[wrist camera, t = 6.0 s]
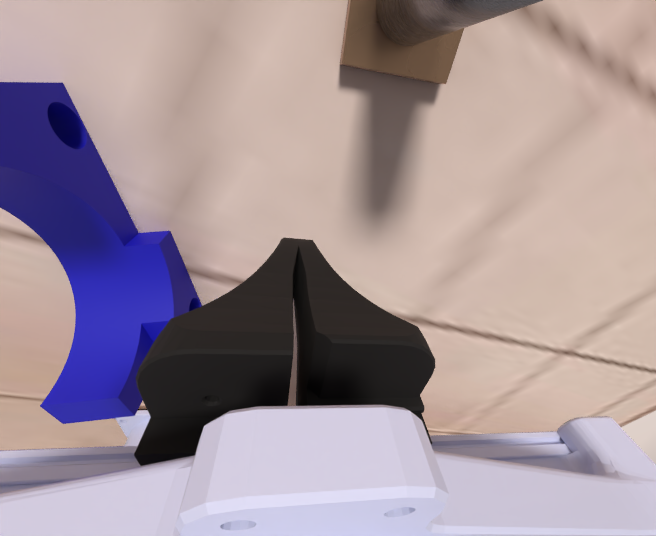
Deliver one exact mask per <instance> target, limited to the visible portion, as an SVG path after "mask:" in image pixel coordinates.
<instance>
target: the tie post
mask: <svg viewBox="0 0 656 536" xmlns="http://www.w3.org/2000/svg"><path fill="white" fill-rule="evenodd" d="M539 1H542V0H348V8H347V15H346V22H345V30H344V37H343V45H342V52H341V59H340V65H344V66H349V67H354V68H359V69H365V70H370V71H375V72H380V73H385V74H391V75H396V76H401V77H406V78H411V79H416V80H422V81H427V82H432V83H437V84H446V82H447V79H448V76H449V73H450V70H451V67H452V64H453V61H454V58H455V55H456V52H457V48H458V45H459V42H460V39H461V36H462V33H463V30H464V28H465V27H468V26H471V25H474V24H477V23H479V22H482V21H485V20H488V19H491V18H494V17H497V16H499V15H502V14H505V13H508V12H511V11H514V10H517V9H519V8H522V7H525V6H528V5H531V4H534V3H537V2H539Z"/></svg>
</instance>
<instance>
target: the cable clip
mask: <svg viewBox="0 0 656 536" xmlns="http://www.w3.org/2000/svg"><path fill="white" fill-rule="evenodd" d="M0 208H2V209H4V210H6V211H8V212H9V213H11V214H12V215H14V216H15V217H17V218H18V219H20V220H21V221H23V222H24V223H25V224H26V225H28V226H29V227H30V228H32V229H33V230H34V231H35V232H36V233H37V234H38V235H39V236H40V237H41V238H42V239H43V240H44V241H45V242H46V243H47V244H48V245H49V246H50V248H51V249H52V250H53V252H54V253H55V254H56V256H57V257H58V259H59V260H60V262H61V264H62V265H63V267H64V269H65V271H66V273H67V275H68V278H69V281H70V284H71V287H72V291H73V294H74V300H75V309H76V324H75V333H74V339H73V343H72V347H71V350H70V353H69V356H68V359H67V362H66V364H65V366H64V369H63V371H62V373H61V375H60V376H59V378H58V380H57V382H56V384H55V385H54V387H53V388H52V390H51V391H50V393H49V395H48V396H47V397H46V399H45V400H44V401H43V403H42V404H41V405H40V406H41V407H42V408H43V409H44V410H46V411H47V412H48V413H50V414H51V415H52V416H54V417H55V418H56V419H58V420H59V421H60V422H61V423H63V424H66V423H75V422H84V421H93V420H102V419H111V418H120V417H129V416H135V414H136V412H137V410H138V408H139V406H140V404H141V402H142V400H143V399H142V397H141V395H140V392H139V390H138V388H137V384H136V379H135V378H136V375H137V372H138V369H139V367H140V365H141V364H142V362H143V360H144V358H145V357H146V355H147V353H148V351H149V350H150V348H151V346H152V344H153V343H154V341H155V340H156V338H157V337H158V335H159V334H160V332H161V331H162V330H163V329H164V327H165V326H166V325H167V323H168V322H169V320H170V319H171V318H174V317H177V316H179V315H182V314H184V313H187V312H189V311H192V310H194V309H197V308H199V307H201V306H202V305H201V302H200V300H199V298H198V295H197V293H196V291H195V288H194V286H193V283H192V281H191V279H190V276H189V274H188V272H187V269H186V267H185V265H184V262H183V260H182V258H181V255H180V253H179V251H178V248H177V246H176V243H175V241H174V239H173V236H172V234H171V232H170V231H161V232H147V233H138V231H137V229H136V227H135V225H134V223H133V221H132V219H131V217H130V215H129V213H128V211H127V209H126V207H125V205H124V203H123V201H122V199H121V197H120V195H119V193H118V191H117V189H116V187H115V185H114V183H113V181H112V179H111V177H110V175H109V173H108V171H107V169H106V167H105V165H104V163H103V161H102V159H101V157H100V155H99V154H98V152H97V150H96V148H95V146H94V144H93V142H92V140H91V138H90V136H89V134H88V132H87V130H86V128H85V126H84V124H83V122H82V120H81V118H80V116H79V114H78V112H77V110H76V108H75V106H74V104H73V102H72V100H71V98H70V96H69V94H68V92H67V90H66V88H65V86H64V84H63V83H23V82H0Z"/></svg>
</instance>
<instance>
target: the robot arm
mask: <svg viewBox="0 0 656 536" xmlns="http://www.w3.org/2000/svg"><path fill="white" fill-rule="evenodd" d="M293 298H294V306H295V318H296V330H297V387H296V406H287V405H288V396H289V387H290V378H291V368H292V359H293V339H294V331H293ZM434 369H435V358H434V356H433V354H432V352H431V350H430V348H429V346H428V344H427V342H426V340H425V338H424V336H423V335H422V333H421V331H420V330H419V328H418V327H417V326H415V325H413V324H411V323H409V322H406V321H404V320H402V319H400V318H398V317H396V316H394V315H392V314H390V313H389V312H387V311H385V310H383V309H382V308H380V307H378V306H377V305H375V304H373V303H372V302H370V301H369V300H368V299H366V298H365V297H363V296H362V295H361V294H359V293H358V292H357V291H355V290H354V289H353V288H352V287H351V286H350V285H348V284H347V283H346V282H345V281H344V280H343V279H342V278H341V277H340V276H339V275H338V274H337V273H336V272H335V271H334V270H333V268H332V267H331V266H330V265H329V263H328V262H327V261H326V259H325V258H324V257H323V255H322V254H321V252H320V251H319V249H318V248H317V246H316V245H315V243H314V242H313V240H305V239H293V238H283V239H281V241H280V243H279V245H278V246H277V248H276V249H275V251H274V252H273V253H272V255H271V256H270V257H269V258H268V259H267V261H266V262H265V263H264V264H263V265H262V266H261V267H260V268H259V269H258V270H257V271H256V272H255V273H254V274H253V275H252V276H250V277H249V278H248V279H247V280H246V281H244V282H243V283H242V284H240V285H239V286H237V287H236V288H234V289H233V290H231V291H230V292H228V293H227V294H225V295H223V296H221V297H219V298H218V299H216V300H214V301H212V302H210V303H208V304H206V305H204V306H201V307H199V308H197V309H194V310H192V311H189V312H187V313H184V314H182V315H179V316H177V317H174V318H171V319H170V320H169V322H168V323H167V325H166V326H165V327H164V329H163V330H162V331H161V332H160V334H159V335H158V337H157V338H156V340H155V341H154V343H153V344H152V346H151V348H150V350H149V351H148V353H147V355H146V357H145V358H144V360H143V362H142V364H141V365H140V367H139V369H138V372H137V375H136V378H135V379H136V384H137V388H138V390H139V392H140V395H141V397H142V399H143V401H144V403H145V406H146V408H147V410H137V412H136V414H135V416H129V417H120V418H115V419H116V420H117V422H118V424H119V425H120V427H121V428H122V430H123V432H124V433H125V435H126V437H127V438H128V439H127V441H126V443H125V445H124V446H116V447H87V448H58V449H29V450H0V536H656V464H655V463H654V462H653V461H652V460H651V459H650V458H649V457H648V456H647V455H646V454H645V452H643V450H642V449H641V448H640V447H639V446H638V445H637V444H636V443H635V442H634V441H633V440H632V439H631V438H630V437H629V436H628V435H627V433H626V432H625V431H624V430H623V429H622V428H621V427H620V426H619V425H618V424H617V423H616V422H615V421H614V420H613V419H612V418H611V417H607V416H602V417H578V418H574V419H571V420H569V421H567V422H565V423H564V424H563V425H562V426H560V427H559V428H558V430H557V431H550V432H521V433H492V434H463V435H434V436H430V435H429V433H428V430H427V427H426V425H425V422H424V419H423V417H422V414H421V413H423V412H424V405H423V402H422V400H421V397H420V394H421V392H422V391H423V389H424V387H425V386H426V384H427V382H428V381H429V379H430V378H431V376H432V374H433V371H434Z"/></svg>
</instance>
